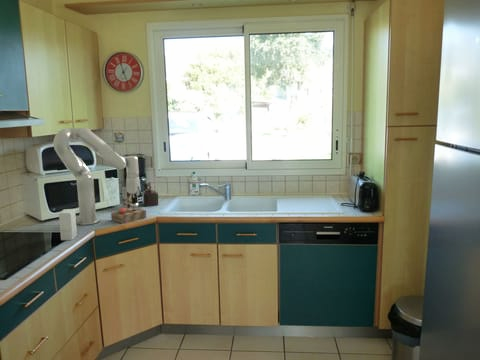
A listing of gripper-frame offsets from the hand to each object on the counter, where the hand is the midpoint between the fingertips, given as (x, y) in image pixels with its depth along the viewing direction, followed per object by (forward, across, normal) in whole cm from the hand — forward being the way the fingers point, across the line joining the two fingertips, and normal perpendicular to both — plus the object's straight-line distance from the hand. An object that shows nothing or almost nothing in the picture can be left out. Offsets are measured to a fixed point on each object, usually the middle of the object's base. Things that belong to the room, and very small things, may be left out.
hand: (134, 203), depth 260 cm
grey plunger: (+5, 0, 0) cm, 5 cm away
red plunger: (+7, 0, -9) cm, 12 cm away
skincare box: (+9, +8, -48) cm, 49 cm away
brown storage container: (+10, -21, +26) cm, 35 cm away
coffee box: (+10, -25, +12) cm, 30 cm away
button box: (+10, 0, -5) cm, 11 cm away
